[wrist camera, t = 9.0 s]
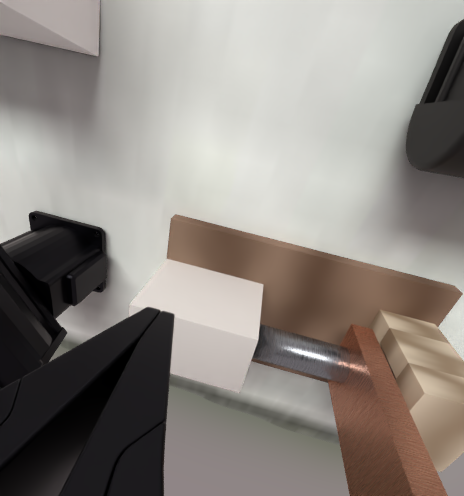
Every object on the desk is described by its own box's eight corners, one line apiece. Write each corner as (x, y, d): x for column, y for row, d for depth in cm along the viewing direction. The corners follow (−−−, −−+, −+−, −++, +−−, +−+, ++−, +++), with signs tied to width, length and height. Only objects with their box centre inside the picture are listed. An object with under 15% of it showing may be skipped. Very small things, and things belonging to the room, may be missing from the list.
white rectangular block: (161, 306, 24) (127, 360, 18) (166, 258, 21) (129, 304, 16) (248, 330, 23) (239, 393, 18) (263, 284, 21) (258, 340, 16)
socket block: (348, 362, 23) (374, 452, 17) (379, 309, 20) (424, 393, 14) (396, 375, 23) (441, 472, 17) (435, 324, 20) (505, 415, 14)
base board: (162, 327, 26) (158, 334, 25) (175, 214, 21) (170, 218, 20) (380, 388, 25) (384, 398, 24) (454, 285, 20) (462, 293, 19)
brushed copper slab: (234, 344, 21) (203, 503, 13) (249, 295, 19) (223, 447, 10) (400, 390, 21) (490, 592, 12) (435, 346, 19) (579, 554, 10)
